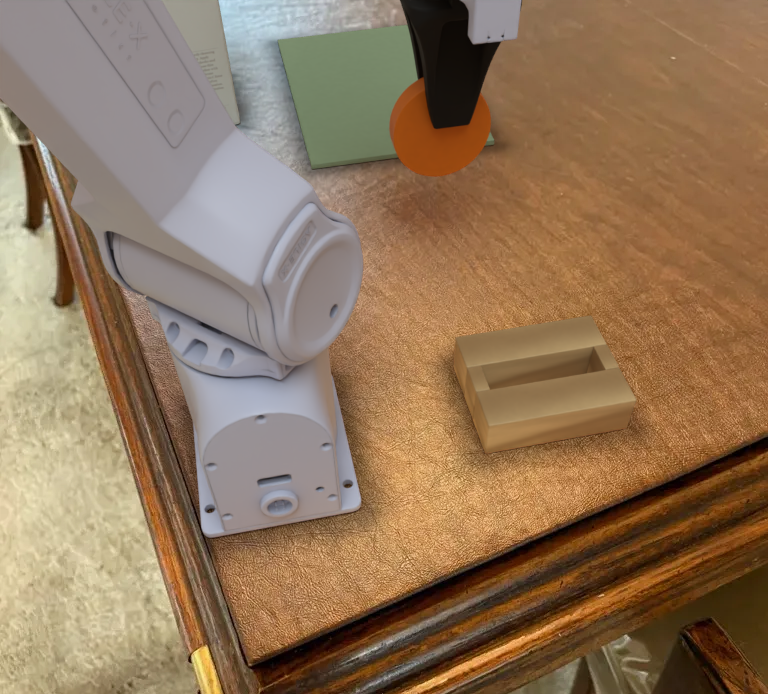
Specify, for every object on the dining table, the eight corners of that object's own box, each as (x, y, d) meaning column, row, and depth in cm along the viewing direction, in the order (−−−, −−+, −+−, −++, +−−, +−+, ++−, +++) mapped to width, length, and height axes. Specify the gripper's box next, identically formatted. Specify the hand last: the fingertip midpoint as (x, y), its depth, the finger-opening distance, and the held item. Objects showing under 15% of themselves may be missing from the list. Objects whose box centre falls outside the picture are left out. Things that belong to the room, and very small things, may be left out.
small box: (148, 89, 66) (101, -91, 56) (224, 76, 67) (191, -103, 57) (161, 140, 61) (112, -47, 51) (242, 125, 62) (210, -60, 52)
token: (494, 162, 46) (488, 70, 42) (401, 188, 46) (385, 98, 42) (488, 151, 47) (481, 59, 43) (397, 176, 47) (381, 87, 43)
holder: (627, 429, 43) (637, 399, 41) (484, 454, 42) (488, 425, 40) (583, 344, 47) (591, 314, 45) (452, 366, 46) (455, 336, 44)
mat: (494, 144, 60) (494, 140, 60) (311, 169, 58) (311, 164, 58) (430, 26, 72) (430, 21, 72) (278, 44, 70) (277, 39, 70)
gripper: (615, -144, 29) (558, 180, 40) (503, -242, 38) (481, 45, 49) (429, -126, 29) (422, 198, 39) (358, -231, 37) (368, 59, 48)
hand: (446, 115), depth 44 cm, fingers closed on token, 1 cm apart
